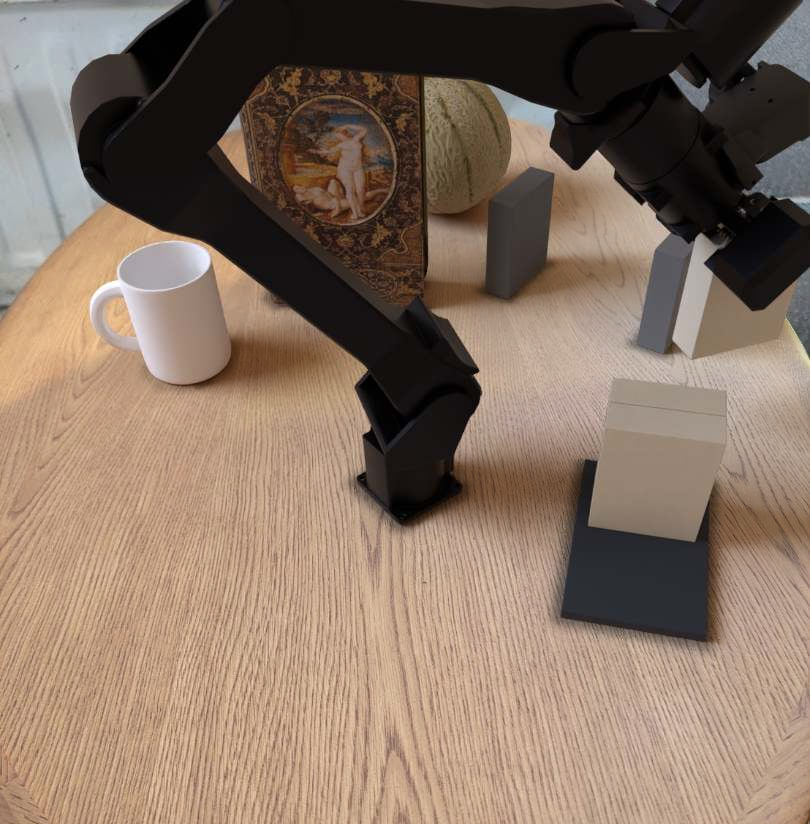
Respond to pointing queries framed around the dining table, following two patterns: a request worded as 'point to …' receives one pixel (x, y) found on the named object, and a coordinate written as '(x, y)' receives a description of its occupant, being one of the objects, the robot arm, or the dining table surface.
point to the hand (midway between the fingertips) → (761, 263)
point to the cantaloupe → (463, 143)
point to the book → (347, 168)
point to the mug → (169, 311)
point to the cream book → (721, 312)
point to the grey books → (528, 243)
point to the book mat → (636, 577)
